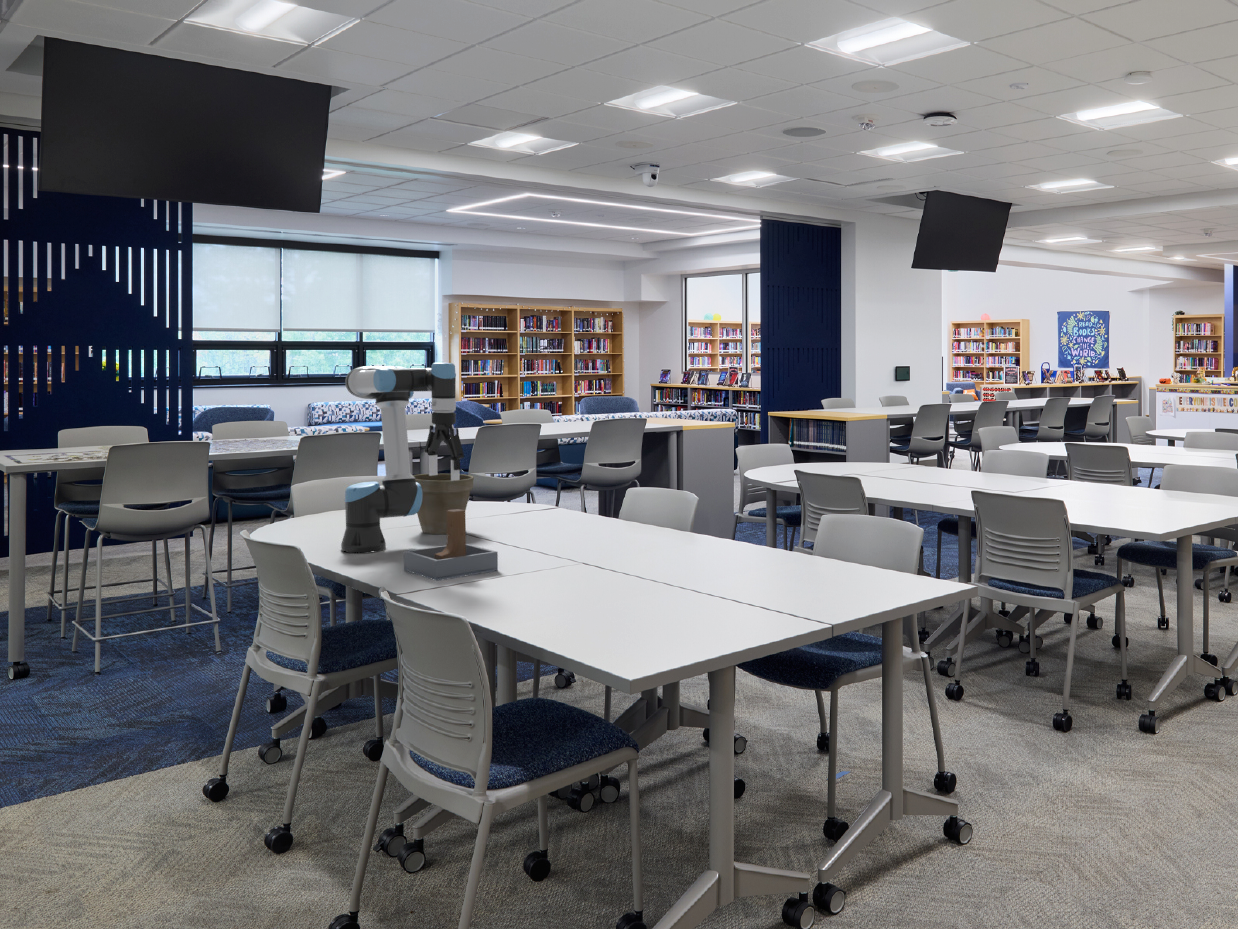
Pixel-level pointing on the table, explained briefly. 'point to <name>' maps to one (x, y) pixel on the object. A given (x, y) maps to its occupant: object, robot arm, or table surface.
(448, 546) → the wooden block
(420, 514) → the plant pot
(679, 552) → the table surface
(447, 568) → the open-top box
